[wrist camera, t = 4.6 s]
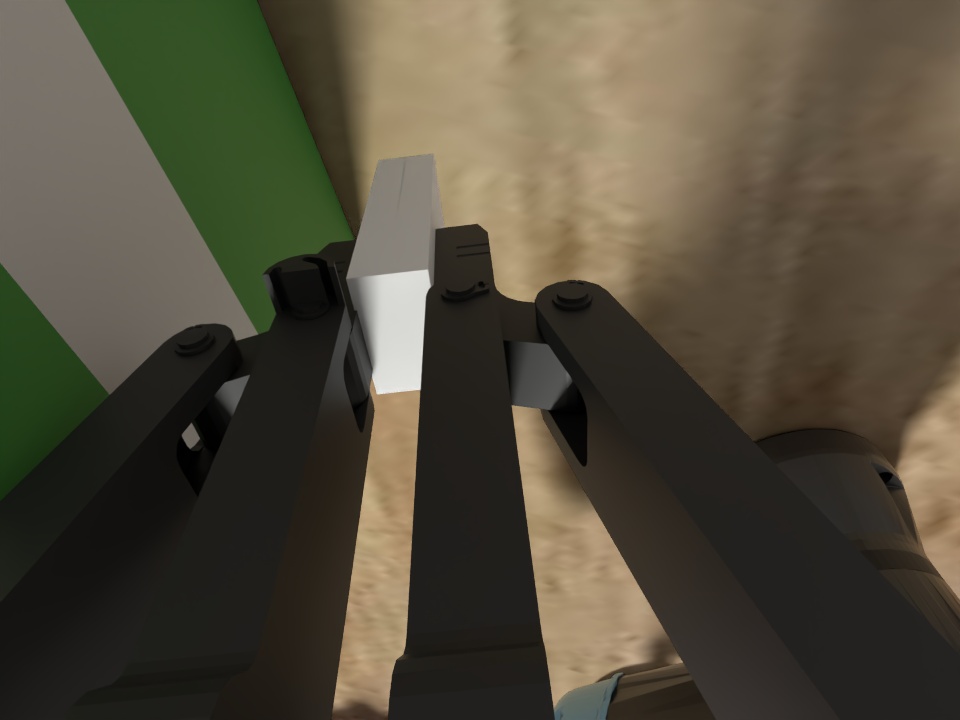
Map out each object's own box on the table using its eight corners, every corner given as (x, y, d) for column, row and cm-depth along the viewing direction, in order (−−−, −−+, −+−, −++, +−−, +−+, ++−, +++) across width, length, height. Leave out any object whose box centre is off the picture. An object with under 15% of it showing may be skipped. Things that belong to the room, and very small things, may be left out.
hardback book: (365, 266, 32) (297, 773, 13) (237, 300, 33) (-5, 835, 14) (196, -147, 22) (-1313, -581, 3) (12, -87, 22) (-2331, -99, 3)
